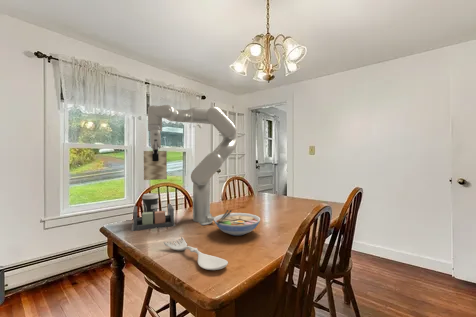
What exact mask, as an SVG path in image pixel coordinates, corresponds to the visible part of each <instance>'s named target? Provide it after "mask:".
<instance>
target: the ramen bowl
mask: <svg viewBox="0 0 476 317" xmlns="http://www.w3.org/2000/svg"><path fill="white" fill-rule="evenodd" d="M232 211H233V210H228V209H227V210H226V212H224V213H223V214H219V215H216V216H214V221H213V222H214V223H215V226H217V227H218V228H219V230H220V231H221V232H223V233H226V234H228V235H231V236H233V237H234V236H235V237H239V236H244V235H245V234H249V233H251V232H252V231H254V230H255V229H256V228H257V226H258V225H259V224H260V222H261V217H259V216H258V215H256V214H252V213H247V212H232Z"/></svg>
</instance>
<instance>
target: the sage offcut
mask: <svg viewBox="0 0 476 317" xmlns="http://www.w3.org/2000/svg"><path fill="white" fill-rule="evenodd" d="M141 214H142V216H141V218H142V225H148V224H153V212H144V211H143V212H142V213H141Z"/></svg>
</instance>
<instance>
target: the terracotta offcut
mask: <svg viewBox="0 0 476 317" xmlns="http://www.w3.org/2000/svg"><path fill="white" fill-rule="evenodd" d="M165 215H166V211H165V210H157V211H156V212H155V224H157V223H165Z"/></svg>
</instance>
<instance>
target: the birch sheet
mask: <svg viewBox="0 0 476 317" xmlns="http://www.w3.org/2000/svg"><path fill="white" fill-rule="evenodd" d="M167 152H168V151H167V150H158V154H159V161H152V154H153V150H143V181H154V180H159V181H160V180H167V176H168V171H167V168H168V166H167V162H168V161H167V158H168V154H167Z"/></svg>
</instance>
